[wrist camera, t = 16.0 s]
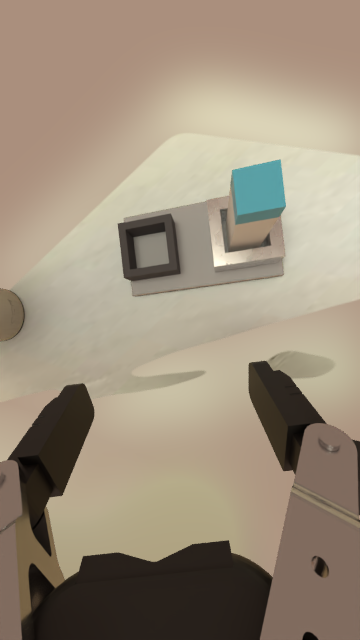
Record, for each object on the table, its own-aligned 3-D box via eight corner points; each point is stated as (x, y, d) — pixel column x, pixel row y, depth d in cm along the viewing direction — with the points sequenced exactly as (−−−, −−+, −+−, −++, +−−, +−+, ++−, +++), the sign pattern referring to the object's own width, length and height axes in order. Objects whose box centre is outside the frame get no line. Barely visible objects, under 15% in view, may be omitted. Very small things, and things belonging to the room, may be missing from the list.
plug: (228, 254, 31) (237, 215, 19) (225, 226, 31) (232, 170, 19) (257, 249, 30) (285, 206, 18) (254, 221, 30) (280, 159, 18)
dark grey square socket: (132, 281, 33) (124, 277, 30) (126, 232, 33) (117, 223, 30) (180, 273, 32) (177, 269, 29) (174, 222, 32) (170, 213, 29)
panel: (134, 296, 34) (132, 295, 33) (126, 221, 34) (123, 218, 33) (281, 275, 31) (283, 274, 30) (271, 191, 31) (273, 187, 30)
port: (214, 272, 31) (214, 266, 28) (207, 213, 31) (206, 200, 28) (277, 262, 30) (285, 255, 26) (269, 201, 30) (277, 185, 26)
